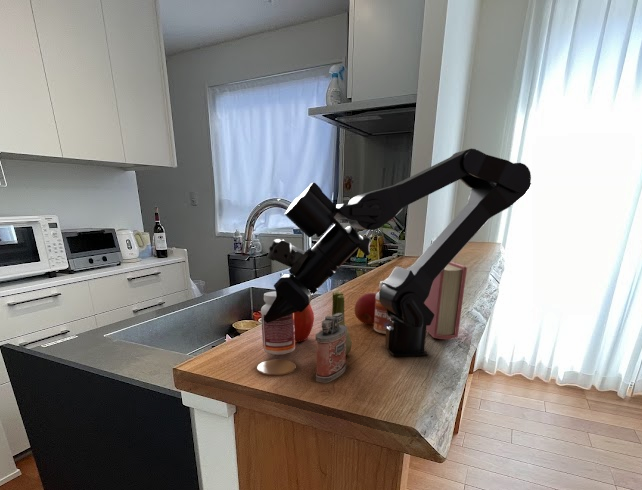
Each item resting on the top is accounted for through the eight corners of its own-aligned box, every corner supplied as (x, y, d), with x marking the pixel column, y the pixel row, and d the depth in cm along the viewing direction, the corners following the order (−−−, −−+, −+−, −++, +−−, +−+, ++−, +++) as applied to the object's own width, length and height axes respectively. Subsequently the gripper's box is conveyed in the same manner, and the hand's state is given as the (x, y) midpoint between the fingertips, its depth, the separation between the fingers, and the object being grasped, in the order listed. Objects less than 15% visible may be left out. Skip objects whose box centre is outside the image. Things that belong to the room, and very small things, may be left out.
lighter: (329, 384, 60) (330, 323, 57) (311, 379, 62) (310, 320, 59) (350, 367, 67) (352, 312, 63) (333, 364, 69) (334, 309, 65)
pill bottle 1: (301, 350, 73) (300, 293, 69) (273, 358, 69) (270, 298, 66) (284, 342, 77) (281, 288, 74) (257, 349, 74) (253, 293, 71)
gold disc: (295, 360, 71) (295, 359, 70) (296, 374, 64) (295, 373, 64) (258, 361, 71) (258, 360, 70) (255, 376, 64) (255, 374, 64)
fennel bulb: (330, 348, 77) (330, 289, 73) (354, 350, 75) (356, 290, 71) (321, 358, 72) (322, 294, 68) (347, 360, 70) (349, 296, 66)
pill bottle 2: (369, 332, 86) (371, 283, 82) (379, 325, 91) (382, 279, 87) (395, 336, 83) (399, 285, 79) (405, 329, 87) (409, 281, 84)
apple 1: (305, 332, 88) (305, 285, 84) (320, 342, 80) (320, 291, 77) (271, 336, 85) (269, 288, 82) (283, 347, 78) (282, 295, 74)
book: (432, 341, 79) (457, 341, 79) (441, 267, 74) (467, 267, 74) (415, 323, 93) (436, 323, 93) (421, 259, 88) (443, 259, 88)
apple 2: (387, 299, 86) (378, 281, 92) (353, 313, 88) (347, 294, 94) (395, 323, 91) (386, 304, 97) (363, 335, 93) (356, 316, 99)
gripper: (301, 221, 74) (250, 278, 79) (284, 223, 56) (220, 296, 62) (342, 261, 75) (289, 315, 81) (337, 276, 58) (270, 343, 63)
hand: (269, 316), depth 72 cm, fingers closed on pill bottle 1, 6 cm apart
